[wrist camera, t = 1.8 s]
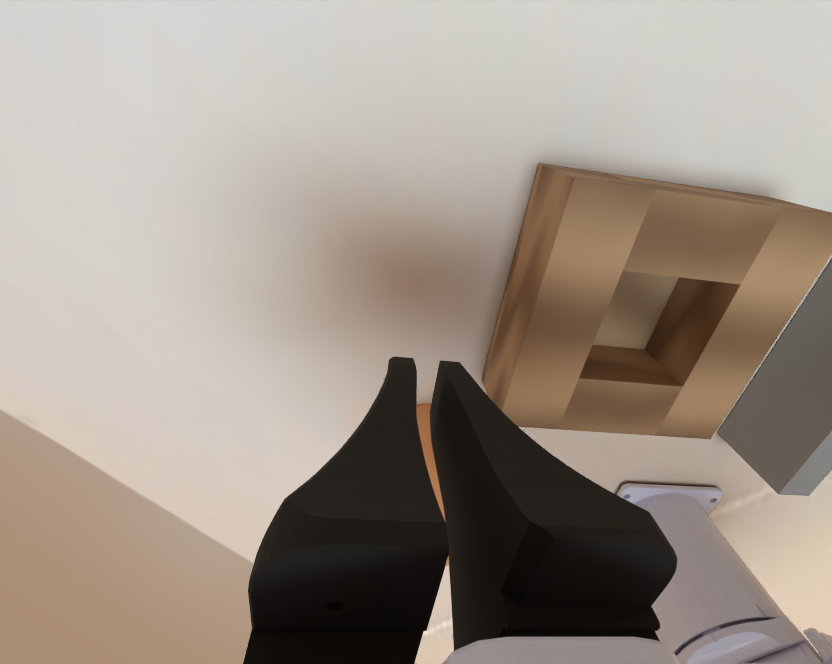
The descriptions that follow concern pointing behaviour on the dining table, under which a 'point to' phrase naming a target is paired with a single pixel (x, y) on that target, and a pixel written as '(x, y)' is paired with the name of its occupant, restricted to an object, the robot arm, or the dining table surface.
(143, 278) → the dining table surface
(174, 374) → the dining table surface
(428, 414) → the dowel
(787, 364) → the wall
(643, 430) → the socket block
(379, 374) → the dining table surface
